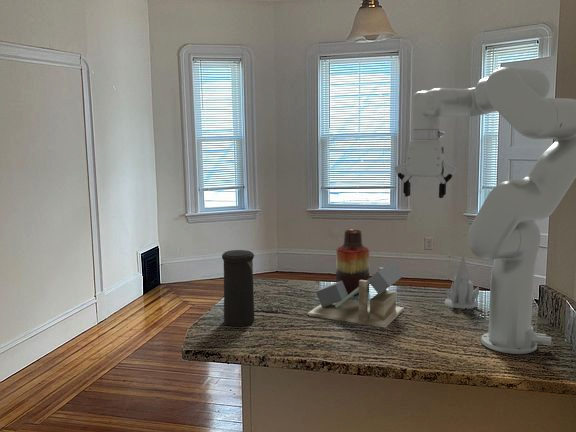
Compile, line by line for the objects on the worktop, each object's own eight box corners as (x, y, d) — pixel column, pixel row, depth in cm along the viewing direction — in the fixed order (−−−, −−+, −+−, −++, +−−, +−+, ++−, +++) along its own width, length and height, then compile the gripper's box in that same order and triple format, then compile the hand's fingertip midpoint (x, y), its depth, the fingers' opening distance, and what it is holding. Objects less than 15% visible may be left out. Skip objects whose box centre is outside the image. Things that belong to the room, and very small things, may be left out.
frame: (404, 309, 163) (404, 269, 161) (385, 328, 147) (385, 284, 146) (332, 299, 173) (332, 262, 172) (307, 315, 158) (307, 274, 156)
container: (261, 321, 154) (260, 250, 151) (237, 329, 147) (235, 255, 144) (240, 314, 159) (239, 246, 157) (216, 322, 153) (214, 251, 150)
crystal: (474, 297, 175) (475, 251, 172) (481, 310, 162) (483, 260, 160) (441, 296, 176) (443, 250, 174) (446, 309, 163) (448, 259, 161)
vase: (371, 296, 177) (372, 233, 174) (337, 296, 177) (337, 233, 174) (366, 287, 187) (367, 227, 184) (334, 287, 187) (335, 228, 185)
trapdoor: (404, 275, 159) (393, 261, 161) (389, 286, 147) (377, 271, 148) (363, 306, 167) (353, 293, 168) (346, 320, 154) (334, 305, 156)
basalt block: (341, 280, 164) (322, 287, 168) (335, 284, 160) (315, 291, 163) (348, 296, 164) (328, 303, 167) (342, 300, 159) (322, 307, 163)
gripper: (460, 135, 155) (457, 196, 157) (399, 136, 163) (398, 194, 165) (454, 135, 148) (452, 199, 151) (391, 136, 156) (390, 196, 159)
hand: (424, 196), depth 158 cm, fingers open, 9 cm apart
